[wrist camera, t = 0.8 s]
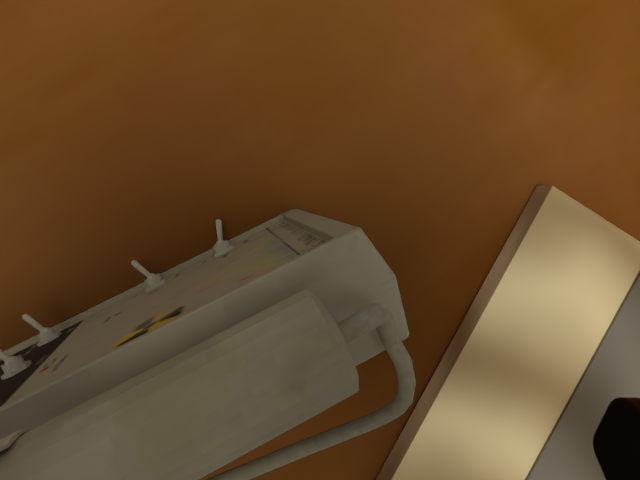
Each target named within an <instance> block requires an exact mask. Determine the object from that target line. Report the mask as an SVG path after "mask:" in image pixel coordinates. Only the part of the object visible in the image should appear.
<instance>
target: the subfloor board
mask: <svg viewBox="0 0 640 480" xmlns="http://www.w3.org/2000/svg"><path fill="white" fill-rule="evenodd" d="M618 397H637V398H640V242H639V241H638V240H636V239H635V238H633V237H632V236H630V235H628V234H627V233H625V232H624V231H622V230H621V229H619V228H618V227H616V226H614V225H613V224H611V223H610V222H608V221H607V220H605V219H604V218H602V217H600V216H599V215H597V214H596V213H594V212H593V211H591V210H590V209H588V208H586V207H585V206H583V205H582V204H580V203H579V202H577V201H576V200H574V199H573V198H571V197H569V196H568V195H566V194H565V193H563V192H562V191H560V190H559V189H557V188H555V187H554V186H538V185H537V186H536V188H535V190H534V192H533V194H532V195H531V197H530V199H529V201H528V203H527V205H526V206H525V208H524V210H523V212H522V214H521V216H520V217H519V219H518V221H517V223H516V225H515V226H514V228H513V230H512V232H511V234H510V236H509V237H508V239H507V241H506V243H505V245H504V246H503V248H502V250H501V252H500V254H499V256H498V257H497V259H496V261H495V263H494V265H493V267H492V268H491V270H490V272H489V274H488V276H487V277H486V279H485V281H484V283H483V285H482V287H481V288H480V290H479V292H478V294H477V296H476V298H475V299H474V301H473V303H472V305H471V307H470V308H469V310H468V312H467V314H466V316H465V318H464V319H463V321H462V323H461V325H460V327H459V329H458V330H457V332H456V334H455V336H454V338H453V339H452V341H451V343H450V345H449V347H448V349H447V350H446V352H445V354H444V356H443V358H442V359H441V361H440V363H439V365H438V367H437V369H436V370H435V372H434V374H433V376H432V378H431V380H430V381H429V383H428V385H427V387H426V389H425V390H424V392H423V394H422V396H421V398H420V400H419V401H418V403H417V405H416V407H415V409H414V411H413V412H412V414H411V416H410V418H409V420H408V421H407V423H406V425H405V427H404V429H403V431H402V432H401V434H400V436H399V438H398V440H397V442H396V443H395V445H394V447H393V449H392V451H391V452H390V454H389V456H388V458H387V460H386V462H385V463H384V465H383V467H382V469H381V471H380V473H379V474H378V476H377V478H376V480H606V479H605V477H604V474H603V472H602V469H601V467H600V465H599V462H598V460H597V458H596V455H595V453H594V449H593V436H594V433H595V431H596V429H597V427H598V425H599V423H600V421H601V419H602V417H603V415H604V413H605V411H606V409H607V407H608V405H609V404H610V402H611V401H612V400H614V399H615V398H618Z"/></svg>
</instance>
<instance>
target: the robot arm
mask: <svg viewBox="0 0 640 480" xmlns="http://www.w3.org/2000/svg"><path fill="white" fill-rule="evenodd" d="M593 449H594V453H595V455H596V458H597V460H598V462H599V465H600V467H601V469H602V472H603V474H604V477H605V479H606V480H640V398H637V397H618V398H615V399H614V400H612V401H611V402H610V404H609V405H608V407H607V409H606V411H605V413H604V415H603V417H602V419H601V421H600V423H599V425H598V427H597V429H596V431H595V433H594V436H593Z"/></svg>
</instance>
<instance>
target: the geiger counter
mask: <svg viewBox="0 0 640 480" xmlns="http://www.w3.org/2000/svg"><path fill="white" fill-rule="evenodd" d="M216 230H217V238H218V241H217V242H216V245H214V246H213V248H212V249H210V250H208V251H206V252H204V253H202V254H200V255H198V256H196V257H194V258H192V259H190V260H188V261H186V262H184V263H182V264H179V265H177V266H175V267H173V268H171V269H169V270H167V271H165V272H163V273H161V274H159V273H157V274H154V273H152V274H150V273H149V272H148V271H147V270H146V269H145V268H144V267H143V266H142V265H140V264H139V263H138V262H137V261H136V260H133V261H132V262H131V265H132V266H133V267H135V268H136V269H137V270H138V271H140V272H141V273H142V274H144V275H145V276H146V277H147V279H145V280H144V281H145V282H143V283H141V284H139V285H137V286H135V287H133V288H131V289H129V290H127V291H125V292H123V293H121V294H119V295H117V296H115V297H113V298H111V299H109V300H107V301H104V302H102V303H100V304H98V305H96V306H94V307H92V308H90V309H88V310H86V311H84V312H82V313H80V314H78V315H76V316H74V317H72V318H70V319H68V320H66V321H64V322H62V323H60V324H58V325H56V326H54V327H53V326H52V327H50V328H49V327H43V326H42V325H40V324H39V323H38V322H37V321H36V320H34V319H33V318H32V317H31V316H30V315H28V314H24V315H23V316H22V318H23V320H25V321H26V322H27V323H29V324H30V325H32V326H33V327H34V328H36V329H37V330H38V331H40V333H39V334H37V335H36V336H34V337H31V338H29V339H27V340H25V341H23V342H21V343H19V344H17V345H15V346H13V347H11V348H9V349H7V350H5V351H2V350H1V349H0V480H199V479H201V478H202V477H204V476H206V475H208V474H210V473H212V472H213V471H215V470H217V469H219V468H221V467H222V466H224V465H226V464H228V463H230V462H232V461H233V460H235V459H237V458H239V457H241V456H242V455H244V454H246V453H248V452H250V451H252V450H253V449H255V448H257V447H259V446H261V445H262V444H264V443H266V442H268V441H270V440H272V439H273V438H275V437H277V436H279V435H281V434H282V433H284V432H286V431H288V430H290V429H292V428H293V427H295V426H297V425H299V424H301V423H302V422H304V421H306V420H308V419H310V418H312V417H313V416H315V415H317V414H319V413H321V412H322V411H324V410H326V409H328V408H330V407H332V406H333V405H335V404H337V403H339V402H341V401H342V400H344V399H346V398H348V397H350V396H352V395H353V394H355V393H357V392H358V391H359V376H358V373H357V370H356V367H355V366H357V365H359V364H361V363H363V362H364V361H366V360H368V359H370V358H372V357H374V356H375V355H377V354H379V353H381V352H383V351H385V350H386V351H387V352H388V354H389V356H390V358H391V359H392V361H393V363H394V366H395V370H396V374H397V379H398V389H397V396H396V397H395V398H394V399H393V401H392V402H390V403H389V404H387V405H386V406H384V407H382V408H381V409H379V410H377V411H374V412H372V413H370V414H368V415H366V416H364V417H361V418H358V419H356V420H353V421H351V422H348V423H345V424H343V425H340V426H338V427H335V428H332V429H330V430H327V431H325V432H322V433H319V434H317V435H314V436H312V437H309V438H306V439H304V440H301V441H299V442H297V443H294V444H292V445H289V446H287V447H284V448H282V449H279V450H277V451H274V452H272V453H270V454H267V455H265V456H262V457H260V458H257V459H255V460H252V461H250V462H248V463H245V464H243V465H240V466H238V467H235V468H233V469H230V470H228V471H225V472H223V473H221V474H218V475H216V476H213V477H211V478H208V479H206V480H250V479H252V478H254V477H257V476H259V475H262V474H264V473H267V472H269V471H272V470H274V469H276V468H279V467H281V466H284V465H286V464H289V463H291V462H293V461H296V460H298V459H301V458H303V457H306V456H308V455H311V454H313V453H316V452H318V451H321V450H323V449H326V448H328V447H331V446H333V445H336V444H338V443H341V442H343V441H346V440H348V439H351V438H354V437H356V436H359V435H361V434H364V433H366V432H369V431H371V430H374V429H376V428H378V427H380V426H382V425H384V424H386V423H389V422H391V421H393V420H394V419H396V418H397V417H399V416H400V415H402V414H404V413H405V412H406V410H407V409H408V408H409V406H410V405H411V404H412V402H413V398H414V392H415V386H416V380H415V374H414V369H413V364H412V359H411V357H410V355H409V354H408V352H407V350H406V348H405V347H404V345H403V343H402V341H403V340H405V339H407V338H408V336H409V330H408V326H407V322H406V317H405V313H404V309H403V305H402V301H401V296H400V292H399V288H398V284H397V279H396V276H395V274H394V273H393V272H392V270H391V269H390V268H389V266H388V265H387V263H386V262H385V261H384V259H383V258H382V257H381V255H380V254H379V252H378V251H377V250H376V248H375V247H374V246H373V244H372V243H371V241H370V240H369V239H368V237H367V236H366V235H365V233H364V232H363V230H362V229H361V228H360V227H356V226H353V225H349V224H346V223H343V222H339V221H336V220H333V219H329V218H326V217H323V216H319V215H316V214H312V213H309V212H306V211H302V210H299V209H291V210H289V211H287V212H285V213H283V214H281V215H279V216H277V217H275V218H273V219H271V220H269V221H267V222H265V223H263V224H261V225H259V226H257V227H254V228H252V229H250V230H248V231H246V232H244V233H242V234H240V235H238V236H236V237H234V238H232V239H230V240H228V241H227V240H224V241H223V235H222V221H221V220H220V219H217V220H216Z"/></svg>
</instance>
